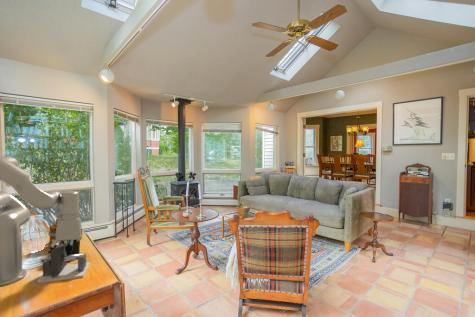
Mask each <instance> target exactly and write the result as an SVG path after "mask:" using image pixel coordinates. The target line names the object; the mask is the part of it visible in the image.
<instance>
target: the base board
mask: <svg viewBox="0 0 475 317" xmlns="http://www.w3.org/2000/svg"><path fill="white" fill-rule="evenodd" d="M90 265H91V261H89V262H88V261H87V262H86V268H85V269H84V271H81V272H78V263H73V264H66V266H65V267H64V268H63V270H62V271H61V273H60V274H59V275H57V276H51V274H50V275H49V276H43V274H42V275H41V276H40V277H39V278H38V279H37V281H36V284H43V283H44V284H45V283H51V282H58V281H64V280H72V279H79V278H84V277H85V274H86V272H87V271H88V269H89V267H90Z"/></svg>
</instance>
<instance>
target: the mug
mask: <svg viewBox="0 0 475 317" xmlns="http://www.w3.org/2000/svg"><path fill="white" fill-rule="evenodd" d="M59 219H60V218H56V219H55V223H54V224H52V225H50V226H49V232H48V236H49V241H48V248H49V249H50V247H51V244H52V240H53V239H56V228H57V222H58V220H59Z"/></svg>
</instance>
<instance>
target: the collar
mask: <svg viewBox="0 0 475 317" xmlns="http://www.w3.org/2000/svg"><path fill="white" fill-rule="evenodd" d="M50 254H51V276H57V275H59V274H60V273H61V271H62V270H63V268H64V267H65V266H66V265H68V264H67V263H68V261H61V256H65V255H67V254H66V251H65V246H64V244H63V243H62V244H59V245H58V246H57V247H56V248H55V249H54V250H53V251H52V252H51V253H50Z"/></svg>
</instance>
